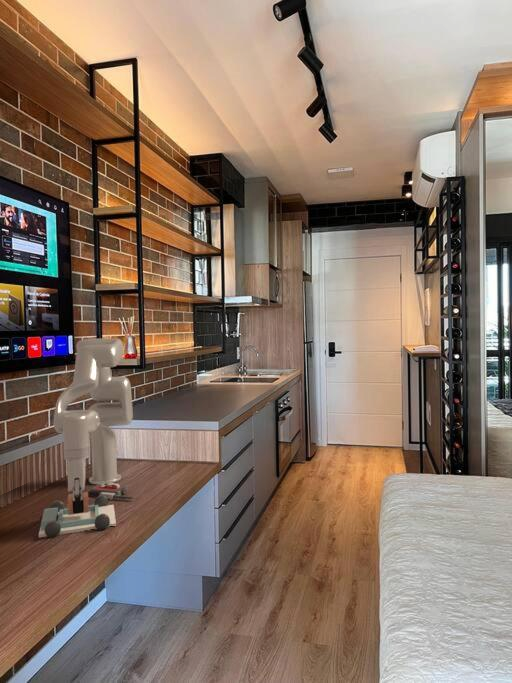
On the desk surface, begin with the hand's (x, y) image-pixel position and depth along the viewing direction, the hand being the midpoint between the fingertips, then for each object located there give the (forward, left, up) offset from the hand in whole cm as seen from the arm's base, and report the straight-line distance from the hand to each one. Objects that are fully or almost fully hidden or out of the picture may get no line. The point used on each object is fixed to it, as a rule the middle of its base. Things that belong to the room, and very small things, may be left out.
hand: (78, 509), depth 159 cm
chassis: (0, 0, -4) cm, 4 cm away
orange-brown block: (0, 0, -1) cm, 1 cm away
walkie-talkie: (-22, +12, -5) cm, 25 cm away
